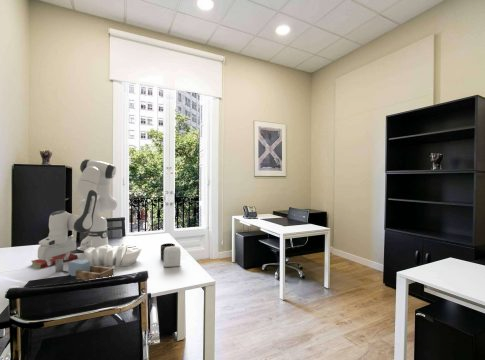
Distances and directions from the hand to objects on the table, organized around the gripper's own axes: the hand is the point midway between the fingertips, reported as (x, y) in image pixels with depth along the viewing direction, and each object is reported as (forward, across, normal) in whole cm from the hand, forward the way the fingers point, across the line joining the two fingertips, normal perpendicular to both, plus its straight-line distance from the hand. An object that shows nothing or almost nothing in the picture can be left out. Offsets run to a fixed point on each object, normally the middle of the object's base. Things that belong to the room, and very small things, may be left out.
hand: (58, 262), depth 145 cm
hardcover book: (+7, -10, -16) cm, 20 cm away
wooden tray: (+5, 0, +27) cm, 27 cm away
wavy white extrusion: (+6, -22, +17) cm, 29 cm away
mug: (+6, -42, +47) cm, 63 cm away
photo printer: (+5, -30, +57) cm, 65 cm away
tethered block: (+5, 0, +16) cm, 17 cm away
